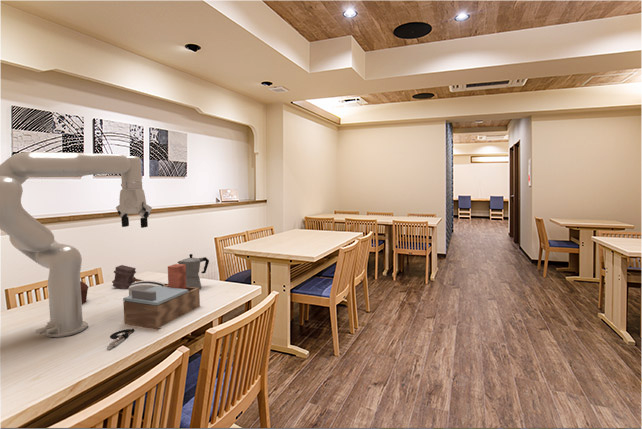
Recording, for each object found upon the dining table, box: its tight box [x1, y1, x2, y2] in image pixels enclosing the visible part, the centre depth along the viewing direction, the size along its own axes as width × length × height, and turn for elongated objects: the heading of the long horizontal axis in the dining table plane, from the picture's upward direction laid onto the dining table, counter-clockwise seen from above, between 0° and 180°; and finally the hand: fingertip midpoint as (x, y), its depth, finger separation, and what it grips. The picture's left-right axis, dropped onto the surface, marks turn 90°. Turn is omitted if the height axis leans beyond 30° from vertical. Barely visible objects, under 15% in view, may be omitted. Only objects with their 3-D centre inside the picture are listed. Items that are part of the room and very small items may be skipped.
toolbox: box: [122, 285, 201, 331], centre depth 144 cm, size 24×16×9 cm, turn 161°
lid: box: [122, 286, 188, 305], centre depth 140 cm, size 17×16×4 cm
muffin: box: [80, 280, 89, 305], centre depth 159 cm, size 12×11×10 cm
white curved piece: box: [128, 279, 165, 296], centre depth 165 cm, size 17×5×10 cm, turn 93°
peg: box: [167, 263, 186, 289], centre depth 151 cm, size 5×5×18 cm
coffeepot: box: [176, 253, 210, 291], centre depth 181 cm, size 15×9×18 cm, turn 121°
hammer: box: [111, 264, 168, 290], centre depth 182 cm, size 7×33×10 cm, turn 85°
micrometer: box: [106, 328, 135, 351], centre depth 122 cm, size 15×7×2 cm, turn 179°
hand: (134, 226), depth 150 cm, fingers open, 9 cm apart
